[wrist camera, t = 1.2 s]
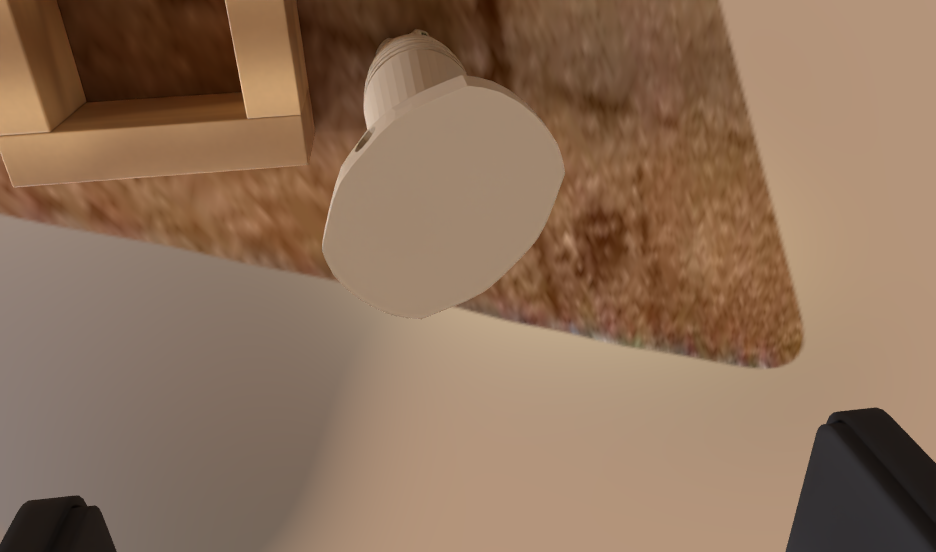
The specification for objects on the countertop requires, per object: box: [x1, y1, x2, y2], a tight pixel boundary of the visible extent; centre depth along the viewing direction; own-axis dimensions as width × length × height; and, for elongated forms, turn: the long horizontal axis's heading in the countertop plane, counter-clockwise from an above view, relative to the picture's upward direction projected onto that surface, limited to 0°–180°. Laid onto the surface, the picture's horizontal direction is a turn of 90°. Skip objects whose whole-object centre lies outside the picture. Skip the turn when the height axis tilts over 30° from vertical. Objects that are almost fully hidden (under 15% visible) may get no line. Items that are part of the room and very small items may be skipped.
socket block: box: [0, 0, 315, 187], centre depth 27 cm, size 11×11×4 cm
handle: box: [322, 29, 565, 319], centre depth 24 cm, size 5×6×15 cm
